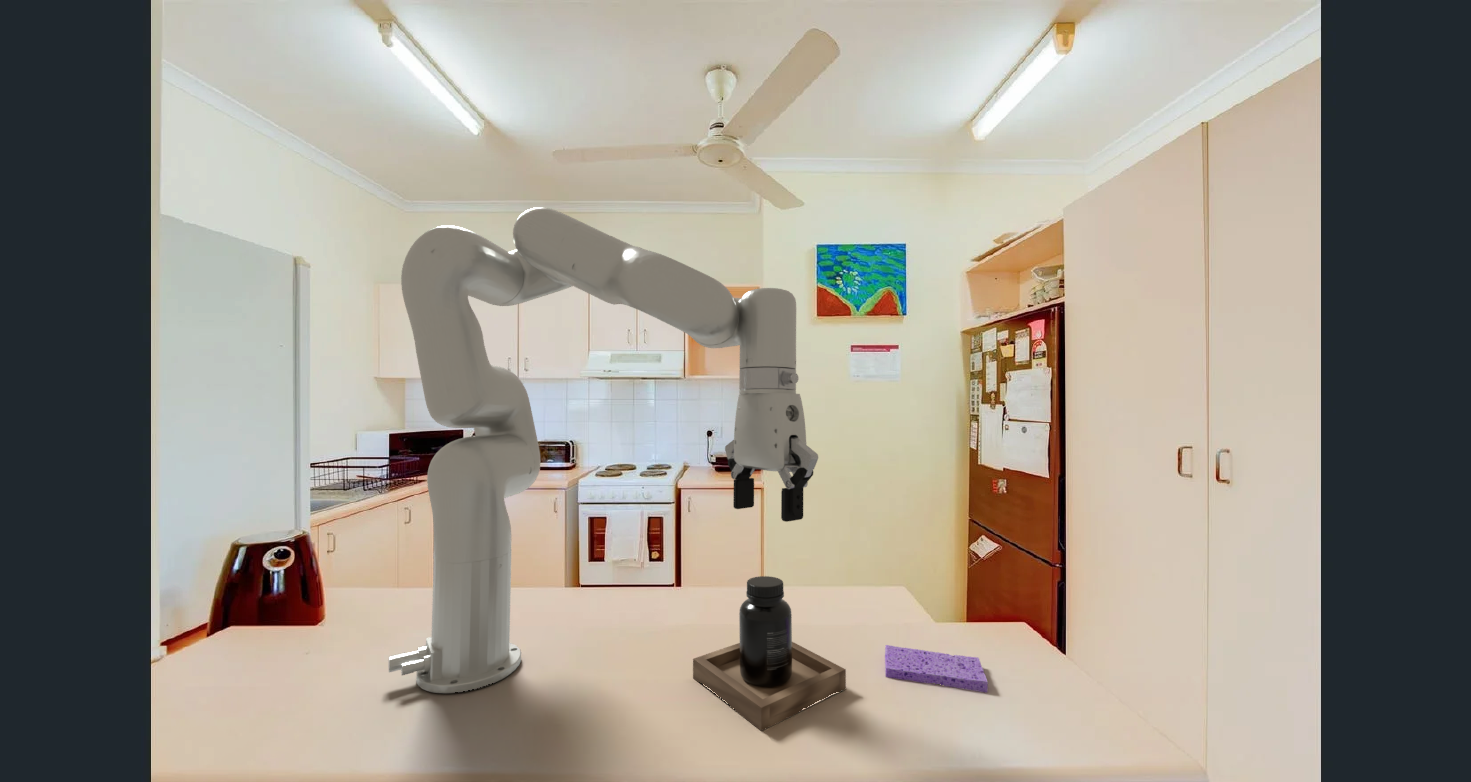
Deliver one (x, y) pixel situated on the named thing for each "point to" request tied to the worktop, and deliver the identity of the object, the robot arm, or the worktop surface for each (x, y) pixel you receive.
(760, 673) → the supplement bottle
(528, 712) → the worktop surface
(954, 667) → the sponges
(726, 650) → the walnut tray
